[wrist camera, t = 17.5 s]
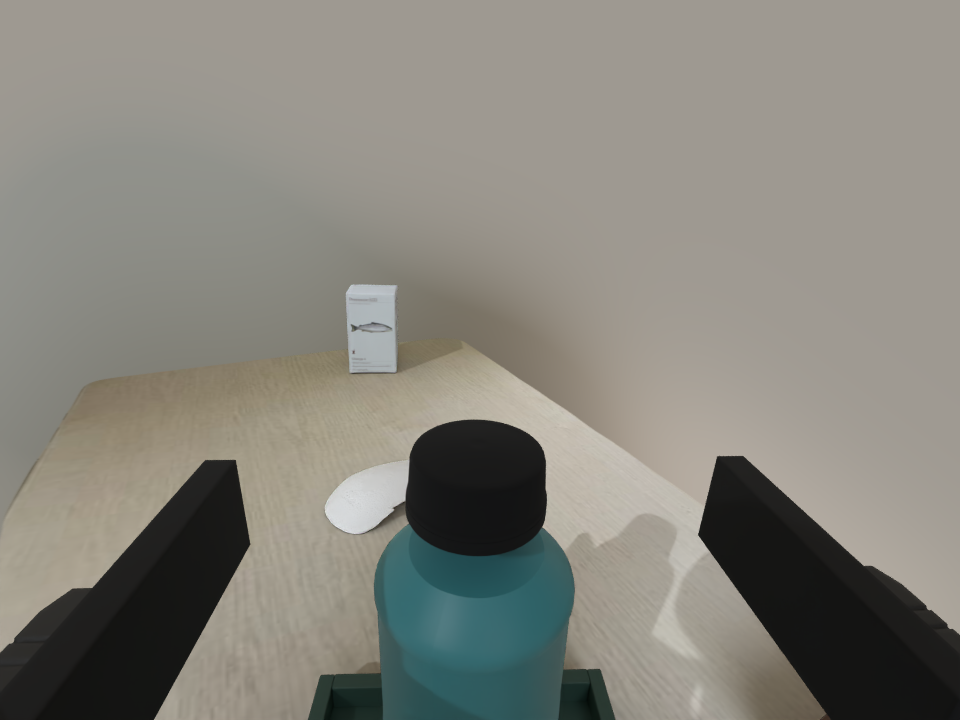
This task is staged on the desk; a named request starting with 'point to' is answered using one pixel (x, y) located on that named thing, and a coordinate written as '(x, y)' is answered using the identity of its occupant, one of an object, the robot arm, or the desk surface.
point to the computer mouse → (368, 497)
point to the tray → (355, 698)
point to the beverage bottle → (473, 583)
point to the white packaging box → (372, 328)
